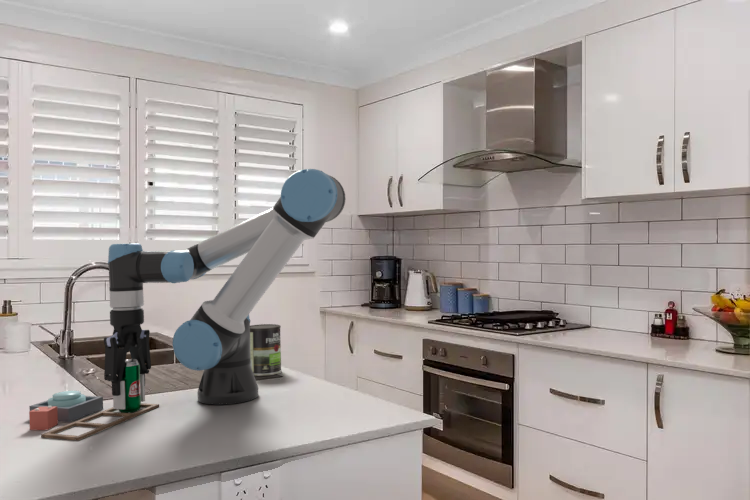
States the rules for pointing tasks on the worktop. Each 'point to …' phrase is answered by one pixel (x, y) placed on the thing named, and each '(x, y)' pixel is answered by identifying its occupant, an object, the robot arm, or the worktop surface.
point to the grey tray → (75, 408)
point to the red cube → (43, 418)
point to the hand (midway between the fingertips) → (129, 404)
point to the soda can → (131, 386)
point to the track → (99, 426)
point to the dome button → (66, 399)
